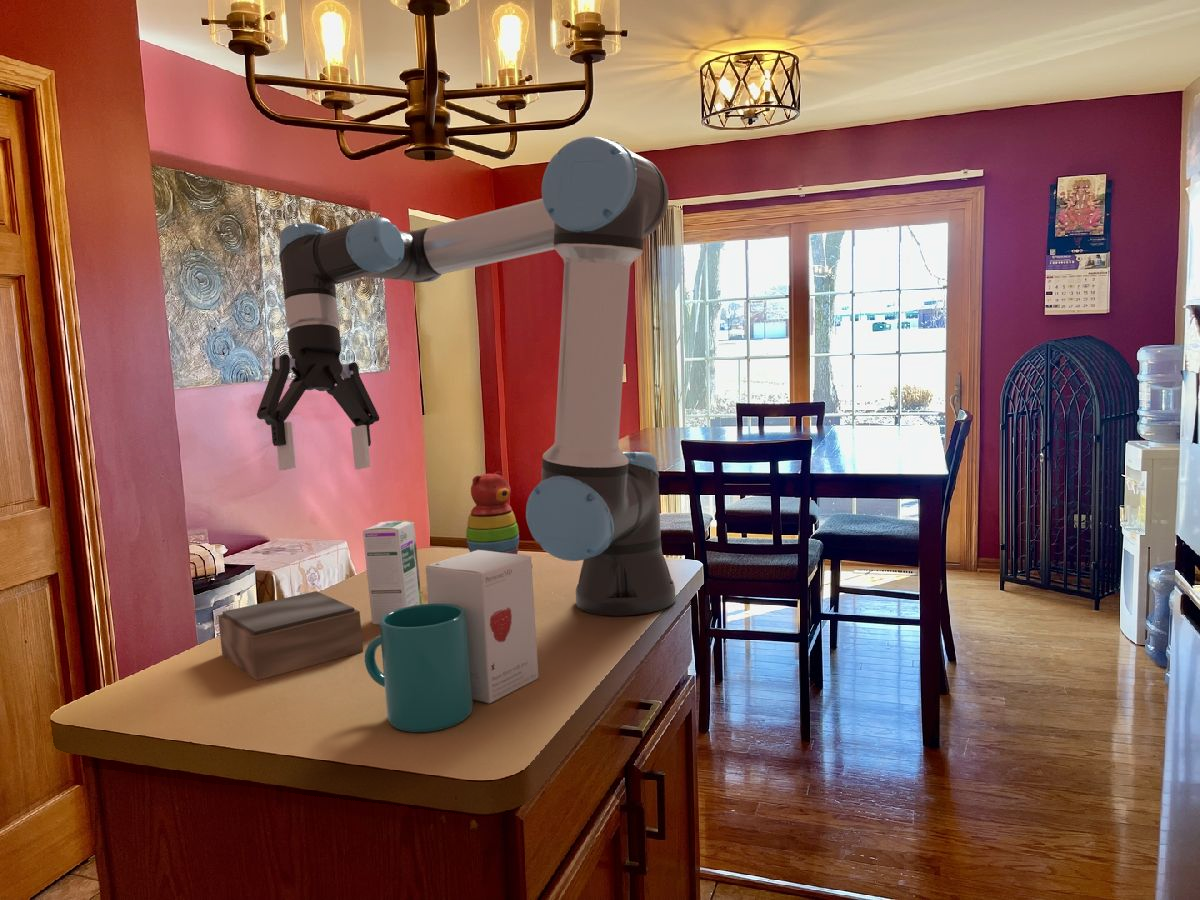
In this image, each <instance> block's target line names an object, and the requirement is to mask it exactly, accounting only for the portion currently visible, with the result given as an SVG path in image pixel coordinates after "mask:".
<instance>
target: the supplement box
mask: <svg viewBox="0 0 1200 900" xmlns="http://www.w3.org/2000/svg"><path fill="white" fill-rule="evenodd" d="M425 575H426V590H427V604H433V603H443V604H453V605H457V606H460V607H462V608H464V609H465V611H466V620H467V633H468V646H469V660H470V673H471V686H472V700H473V701H479V702H483V703H485V704H492V703H494V702H496V701H498V700H499V699H501V698H503V697H505V696H507V695H509V694H511V693H512V692H515V691H517V690H518V689H520V688H523V687H524V686H526V685H528V684H530V683H532V682H534V681H536V680H537V679H539V664H538V663H539V662H538V649H537V648H538V647H537V630H536V615H535V614H536V613H535V600H534V597H535V596H534V584H533V563H532V555H527V554H519V553H517V554H509V553H501V552H493V551H485V550H476V551H473V552H470V551H469V552H467V553H464V554H459V555H455V556H451V557H449V558H447V559H443V560H439V561H436V562H434V563H430V564H427V565H426V566H425Z"/></svg>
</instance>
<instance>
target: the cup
mask: <svg viewBox="0 0 1200 900" xmlns="http://www.w3.org/2000/svg"><path fill="white" fill-rule="evenodd" d="M379 633H380V634H379V635H378V636H376V637H375V638H373V639H372V640H371V641H370V642H369V643H368V645H367V647H366V649H365V651H364V665H365V669H366V671H367V673H368V675H369V676H370V678H371V679H372V680H373V681H374V683H376V684H377V685H379V686H381V687H383V688H384V693H385V695H384V696H385V704H386V715H387V720H388V723H389V724H390V725H391V726H392V727H394V728H396V729H398V730H400V731H403V732H404V731H405V732H408V733H409V732H410V733H429V732H436V731H441V730H445V729H449V728H450V727H453V726H456V725H458V724H460V723H462V722H463V721H465V720H466V719H467V718H468V717H469V716H470V715H471V713H472V711H473V706H474V704H473V701H474V699H472V686H471V673H470V660H469V646H468V633H467V620H466V611H465V609H464V608H462V607H460V606H457V605H453V604H443V603H433V604H428V603H422V604H421V605H414V606H409V607H404V608H400V609H397V610H394V611H392V612H389V613H387V614H385V615H384V616H383V617H382V618H381V619H380V621H379ZM379 647H381V658H382V667H383V668H382V670H383V672H382V671H381V670H380V667H379V666H378V664H377V660H376V652H377V649H378V648H379Z"/></svg>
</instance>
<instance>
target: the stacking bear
mask: <svg viewBox="0 0 1200 900" xmlns="http://www.w3.org/2000/svg"><path fill="white" fill-rule="evenodd" d="M511 491H512V489H511V485H510V484H509V482H508V481H507V479H505V478H504V477H503V474H502V472H501V471H495V472H493V473H484V474H481V475H476V476H474V477H473V478H472V484H471V487H470V495H471V498H472V500H473V502H474V503H475V506H474V507H473V508H472V509H471V510H470V513H469V515H468V517H467V528H466V532H465V533H466V535H465V536H466V537H465V538H466V544H467V548H468V551H469V552H473V551H476V550H485V551H493V552H501V553H509V554H519V544H520V534H519V533H520V530H519V525H518V523H517V519H516V515H515V513H514V511H513V507H512V506H511V505H510V504H509V503H507V502H508V500H509V498H510V496H511V494H512V493H511Z"/></svg>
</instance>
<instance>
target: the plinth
mask: <svg viewBox="0 0 1200 900" xmlns="http://www.w3.org/2000/svg"><path fill="white" fill-rule="evenodd" d="M217 618H218V619H217V620H218V627H219V628H218V629H219V637H220V645H221V646H220V647H221V655H222V656H223V657H224V658H226V659H227V660H228V661H230V662H231V663H232V664H234V665H235V666H237V667H238V668H239V669H241V670H242V671H243V672H245V673H246V674H247V675H249V676H250V677H251V678H252V679H254V680H255V681H260V680H264V679H267V678H271V677H275V676H279V675H282V674H285V673H289V672H293V671H297V670H300V669H304V668H308V667H312V666H314V665H315V666H316V665H318V664H323V663H326V662H329V661H333V660H334V661H335V660H336V659H337V660H338V659H341V658H344V657H347V656H352V655H356V654H358V653H362V652H364V645H363V636H362V623H361V621H362V620H361V613H360V611H359V610H357V609H356V608H355V607H353V606H350V605H349V604H346V603H344V602H342V601H339V600H338V599H335V598H332V597H331V596H328V595H326V594H323V593H321V592H319V591H310V592H307V593H301V594H296V595H292V596H288V597H283V598H279V599H275V600H271V601H265V602H260V603H257V604H252V605H248V606H243V607H238V608H233V609H229V610H224V611H222V614H218V615H217Z"/></svg>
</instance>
